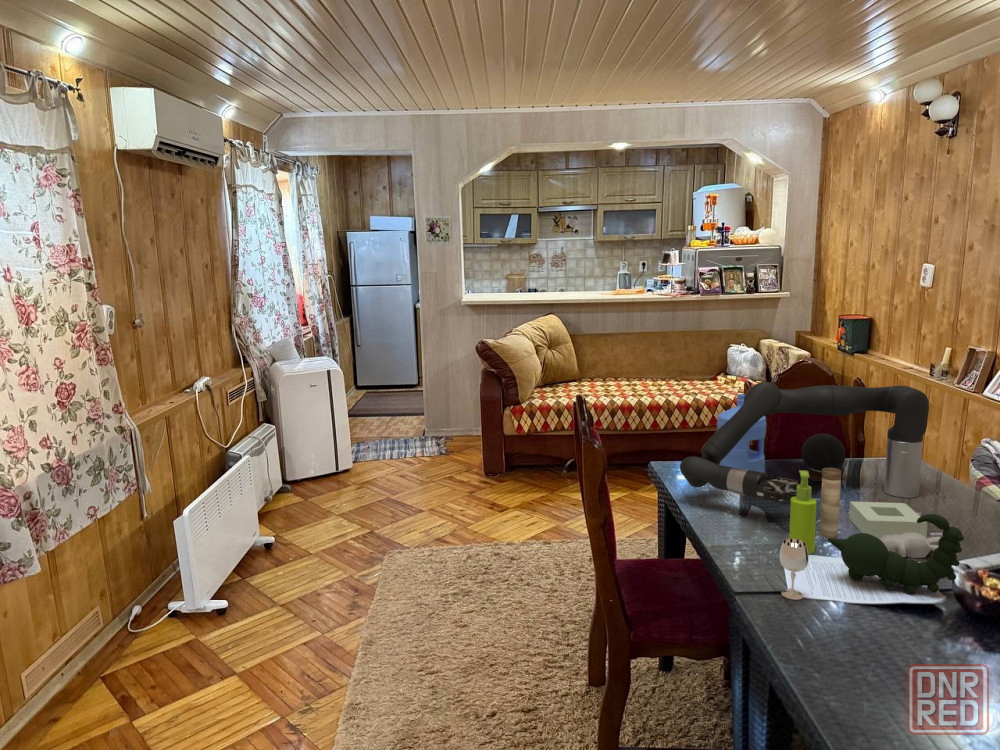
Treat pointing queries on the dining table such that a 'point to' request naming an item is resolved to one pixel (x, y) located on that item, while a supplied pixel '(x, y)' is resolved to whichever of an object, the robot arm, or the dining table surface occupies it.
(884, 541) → the bunny figurine
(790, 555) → the wineglass
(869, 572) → the toy figurine
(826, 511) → the peg
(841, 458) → the black ball on pedestal
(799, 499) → the soap dispenser
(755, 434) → the water jug
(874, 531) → the socket block
